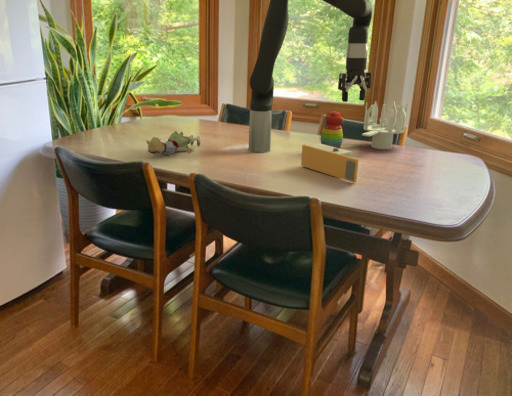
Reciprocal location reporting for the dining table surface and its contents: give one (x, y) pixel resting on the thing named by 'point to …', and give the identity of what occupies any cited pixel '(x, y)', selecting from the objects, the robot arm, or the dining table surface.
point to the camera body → (332, 149)
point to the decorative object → (384, 132)
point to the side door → (330, 163)
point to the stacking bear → (332, 130)
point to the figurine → (172, 144)
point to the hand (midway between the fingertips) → (353, 101)
